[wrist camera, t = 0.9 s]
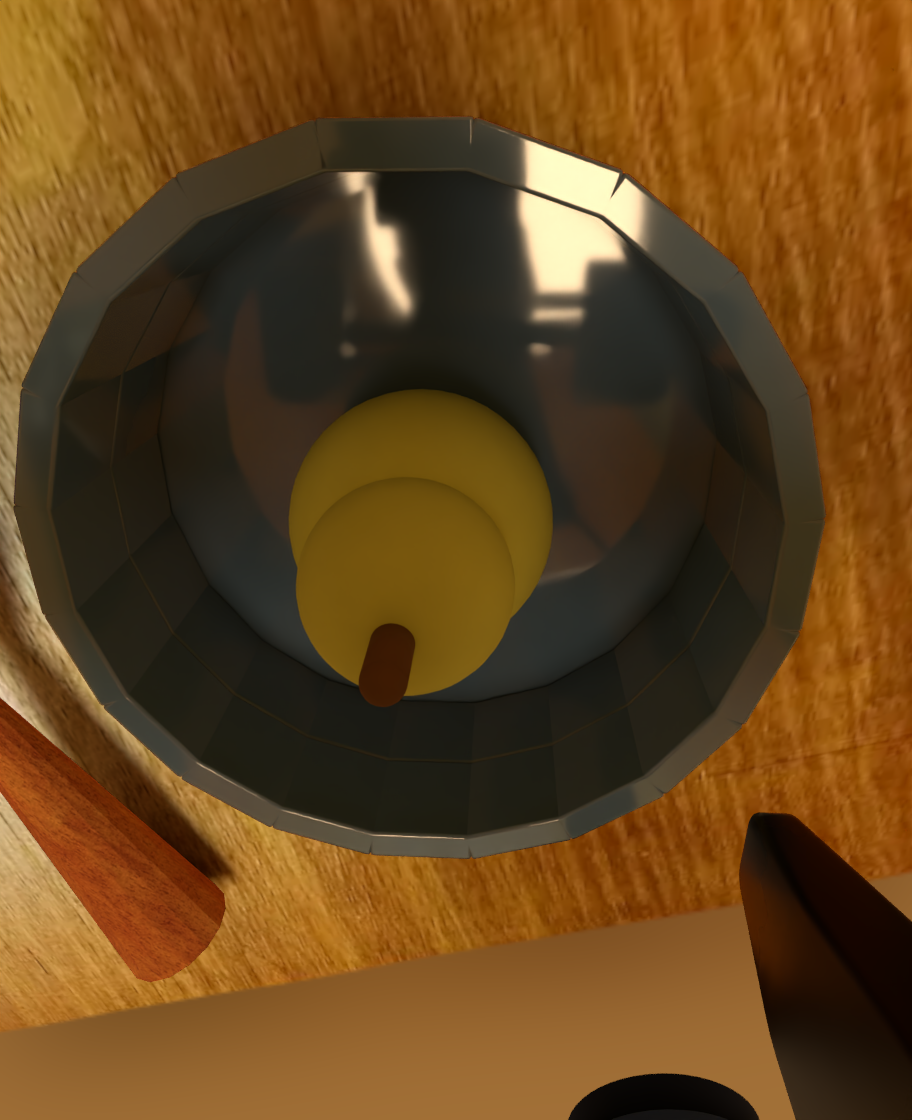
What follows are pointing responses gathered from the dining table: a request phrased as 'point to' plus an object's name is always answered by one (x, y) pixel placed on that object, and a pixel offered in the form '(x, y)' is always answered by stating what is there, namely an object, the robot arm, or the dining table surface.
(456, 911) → the dining table surface
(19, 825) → the dining table surface
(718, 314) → the bowl
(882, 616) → the dining table surface
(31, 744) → the kendama
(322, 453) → the pear toy
